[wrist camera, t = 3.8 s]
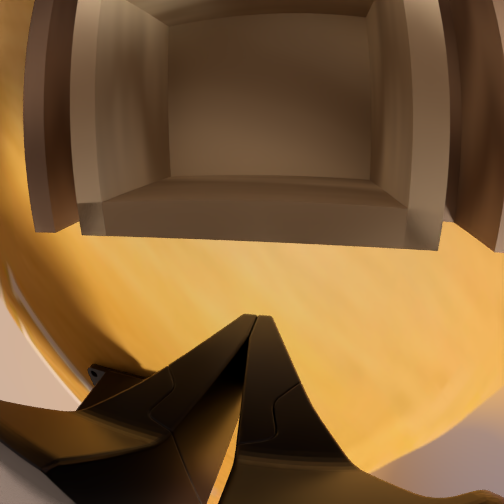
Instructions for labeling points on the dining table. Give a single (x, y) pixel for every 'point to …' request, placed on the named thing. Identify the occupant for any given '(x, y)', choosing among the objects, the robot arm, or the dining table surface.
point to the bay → (461, 116)
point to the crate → (261, 120)
